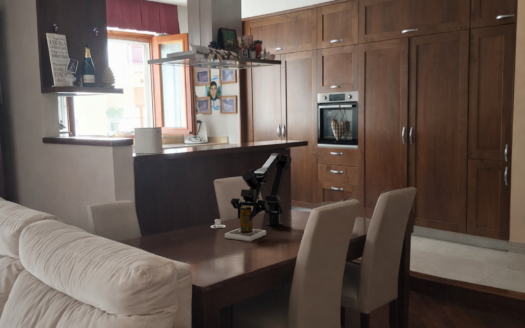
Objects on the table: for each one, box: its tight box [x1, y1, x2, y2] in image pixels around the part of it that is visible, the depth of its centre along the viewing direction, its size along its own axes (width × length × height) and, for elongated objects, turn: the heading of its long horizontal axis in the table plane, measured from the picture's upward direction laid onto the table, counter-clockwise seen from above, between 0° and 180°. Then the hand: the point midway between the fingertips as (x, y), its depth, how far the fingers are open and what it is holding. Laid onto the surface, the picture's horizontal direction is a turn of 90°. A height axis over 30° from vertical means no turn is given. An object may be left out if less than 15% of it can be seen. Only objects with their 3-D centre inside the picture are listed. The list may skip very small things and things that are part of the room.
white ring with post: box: [210, 218, 226, 229], centre depth 270 cm, size 9×8×4 cm
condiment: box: [238, 206, 255, 234], centre depth 246 cm, size 7×8×12 cm
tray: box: [224, 227, 267, 242], centre depth 246 cm, size 14×14×2 cm
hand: (244, 218), depth 244 cm, fingers closed on condiment, 6 cm apart
